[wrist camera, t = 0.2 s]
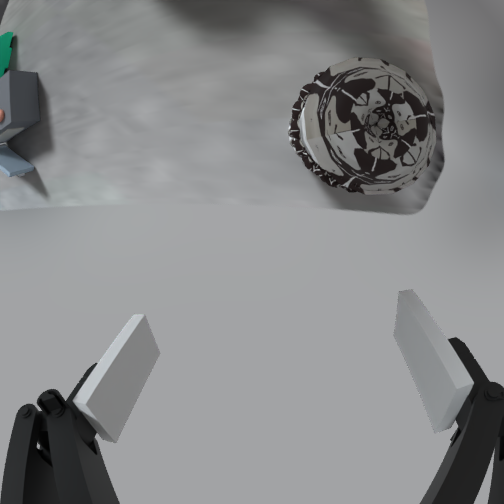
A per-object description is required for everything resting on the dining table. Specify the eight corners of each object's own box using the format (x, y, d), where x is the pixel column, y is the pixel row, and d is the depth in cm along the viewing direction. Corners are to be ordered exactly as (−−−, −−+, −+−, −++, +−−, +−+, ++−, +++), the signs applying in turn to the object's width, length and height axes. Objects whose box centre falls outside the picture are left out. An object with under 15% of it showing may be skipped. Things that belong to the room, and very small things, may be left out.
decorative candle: (296, 174, 38) (323, 231, 15) (276, 109, 35) (271, 59, 12) (360, 159, 36) (466, 194, 13) (342, 94, 33) (429, 38, 10)
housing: (-1, 101, 35) (-29, 103, 28) (37, 72, 34) (6, 69, 26) (3, 145, 39) (-26, 151, 31) (40, 121, 37) (8, 123, 30)
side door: (3, 143, 39) (-20, 147, 33) (35, 165, 40) (10, 172, 34) (2, 149, 39) (-21, 154, 33) (33, 172, 41) (9, 179, 35)
